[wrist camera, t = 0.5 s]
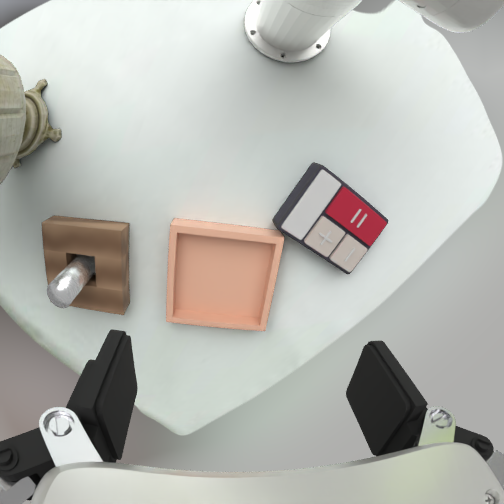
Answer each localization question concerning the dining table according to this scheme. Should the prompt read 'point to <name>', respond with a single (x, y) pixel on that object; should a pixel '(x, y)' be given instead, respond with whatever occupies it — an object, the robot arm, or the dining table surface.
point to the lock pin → (71, 280)
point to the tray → (221, 274)
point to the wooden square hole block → (92, 244)
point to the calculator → (330, 218)
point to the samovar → (21, 118)
